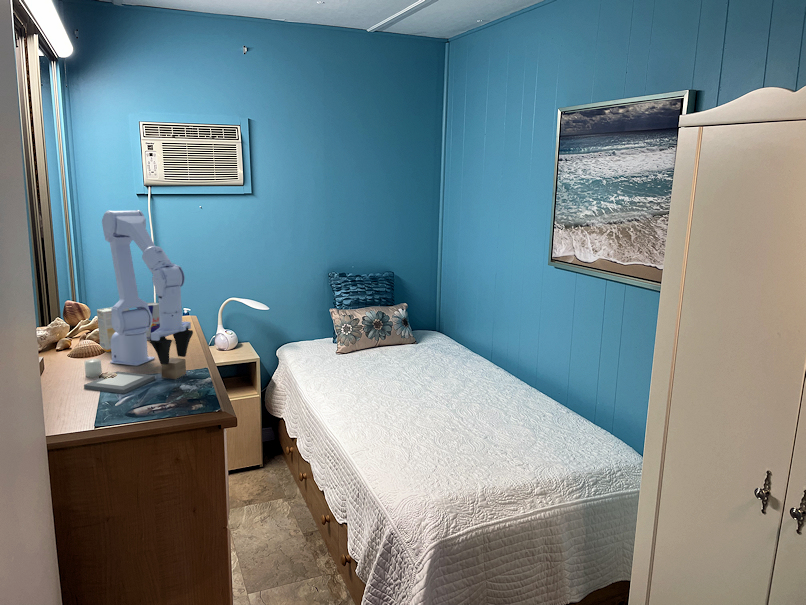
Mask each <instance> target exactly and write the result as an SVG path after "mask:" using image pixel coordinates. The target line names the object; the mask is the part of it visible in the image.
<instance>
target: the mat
mask: <svg viewBox="0 0 806 605" xmlns="http://www.w3.org/2000/svg"><path fill="white" fill-rule="evenodd" d="M113 373H116V374H117V376H116V377H114V378H107V379H103V378H102V377H100V378H98V379H95V380H93V381H89V382H88V383H85V384H83V389H84V390H85V389H86V390H93V391H101V392H108V393H109V392H110V393H116V394H127V393H128V392H130V391H133V390H135V389H137V388H139V387H141V386H144V385H146V384H148V383H150V382H153V381H154V380H156V375H154V374H144V373H143V374H142V373H137V372H128V371H127V372H126V371H114V372H113Z"/></svg>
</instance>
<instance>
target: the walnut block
mask: <svg viewBox="0 0 806 605" xmlns="http://www.w3.org/2000/svg"><path fill="white" fill-rule="evenodd" d="M160 368H161V370H160V371H161V378H162V379H169V378H170V379H171V380H178V379H179V377H180V378H182V377H184V376H186V375H187V364H186V358H179V357H169V364H167V365H166V364H160ZM185 374H186V375H185ZM183 375H184V376H183ZM181 376H182V377H181ZM177 378H178V379H177Z"/></svg>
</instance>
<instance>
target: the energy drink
mask: <svg viewBox="0 0 806 605" xmlns="http://www.w3.org/2000/svg"><path fill="white" fill-rule="evenodd" d="M147 303H148V307H149V310H150V312H151V314H152V324H151V326H150V328H148V329H149V331H146V335H147V341H149V342H150V338H151V333H152V332H154V331H156V330H157V329H158V328H160V319H159V303H158V302H147Z"/></svg>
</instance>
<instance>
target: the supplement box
mask: <svg viewBox="0 0 806 605" xmlns="http://www.w3.org/2000/svg"><path fill="white" fill-rule="evenodd" d="M112 307H113V306H111V307H103V308H98V309H96V315H97V316H96V317H97V329H98V335H99V336H98V338H99V347H100V346H101V347H102V348H103V349H104V352H106V353H109V352H111V338H112V335H113V334H114V333H115V332H116V331H115V330H114V329H113V327H112V323H111V318H112V312H111V308H112ZM127 310H130V308H129V309H125V310H123V311H127Z"/></svg>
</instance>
